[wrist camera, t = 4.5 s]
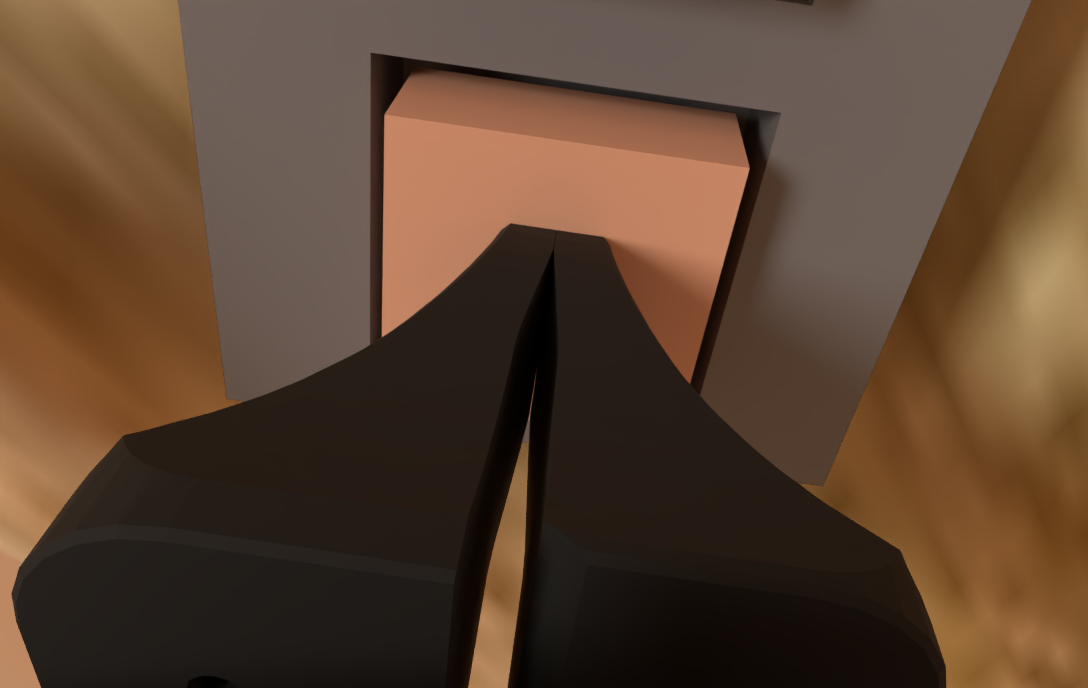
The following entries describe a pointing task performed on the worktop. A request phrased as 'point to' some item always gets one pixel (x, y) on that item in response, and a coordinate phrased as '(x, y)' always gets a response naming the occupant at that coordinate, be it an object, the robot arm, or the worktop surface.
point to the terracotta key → (560, 190)
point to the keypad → (619, 70)
